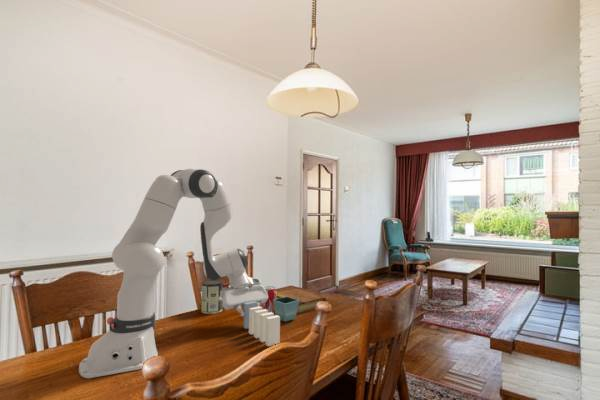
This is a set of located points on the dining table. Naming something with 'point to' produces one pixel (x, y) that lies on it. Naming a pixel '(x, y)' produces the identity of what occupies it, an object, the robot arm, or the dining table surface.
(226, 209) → the robot arm
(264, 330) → the tile
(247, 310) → the tile
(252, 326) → the tile
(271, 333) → the tile
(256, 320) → the tile
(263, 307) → the soda can
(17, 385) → the dining table surface
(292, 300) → the flower pot
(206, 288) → the coffee can
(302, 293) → the diary
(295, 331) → the dining table surface
